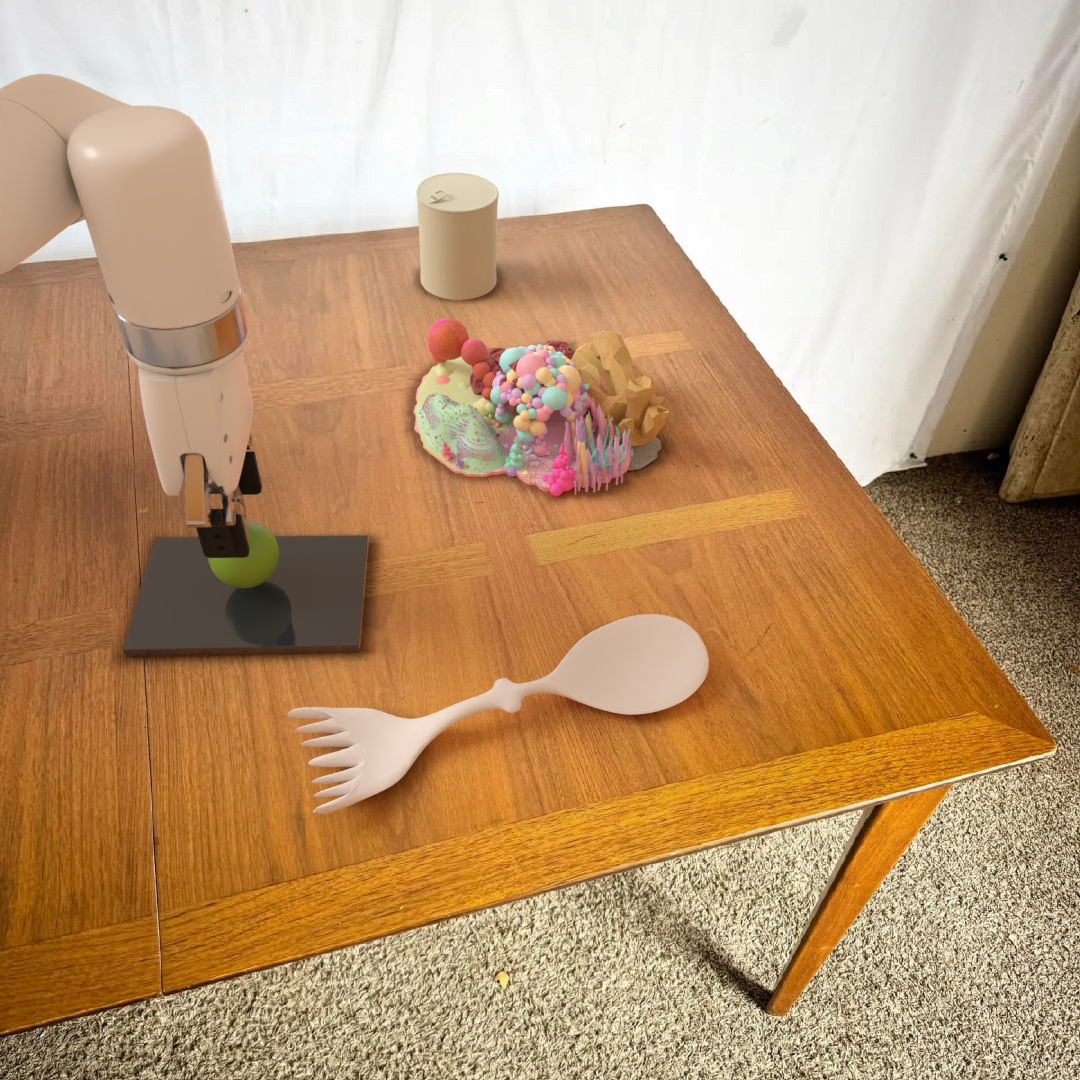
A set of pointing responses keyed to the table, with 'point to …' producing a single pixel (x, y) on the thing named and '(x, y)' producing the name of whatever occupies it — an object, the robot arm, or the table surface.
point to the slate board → (252, 601)
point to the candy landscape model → (537, 410)
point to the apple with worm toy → (259, 558)
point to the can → (457, 235)
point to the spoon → (514, 702)
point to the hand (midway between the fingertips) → (234, 520)
